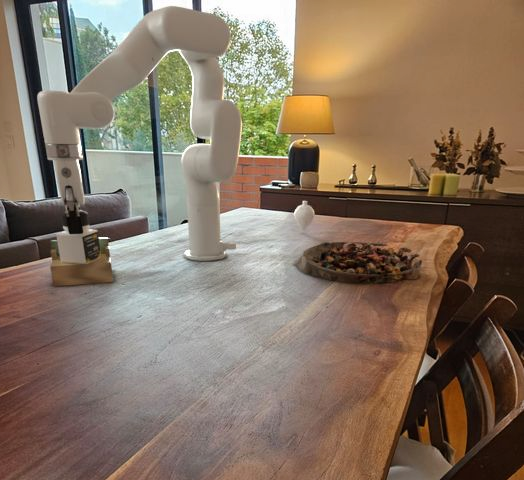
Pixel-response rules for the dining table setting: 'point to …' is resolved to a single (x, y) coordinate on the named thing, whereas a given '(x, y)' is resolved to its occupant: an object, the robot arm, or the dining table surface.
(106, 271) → the spice rack
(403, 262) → the food dish
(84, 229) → the medicine bottle
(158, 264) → the dining table surface
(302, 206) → the spinning top
